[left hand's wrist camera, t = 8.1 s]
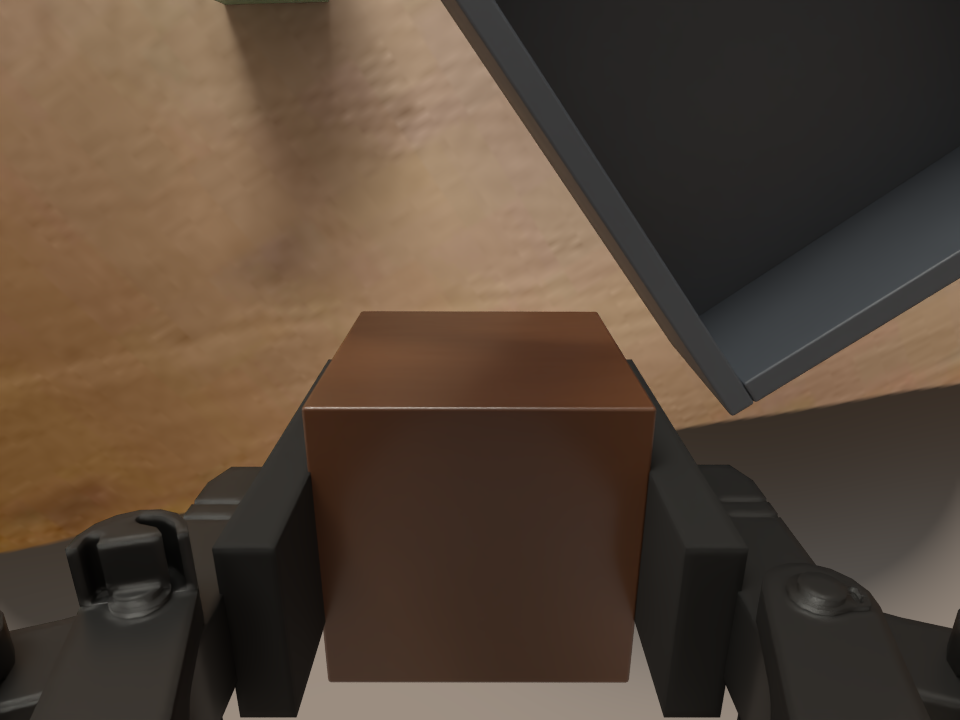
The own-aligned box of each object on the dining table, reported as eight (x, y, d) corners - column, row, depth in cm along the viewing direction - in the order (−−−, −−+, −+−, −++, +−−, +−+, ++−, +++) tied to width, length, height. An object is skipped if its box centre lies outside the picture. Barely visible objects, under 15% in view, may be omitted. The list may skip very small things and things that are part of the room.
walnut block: (373, 514, 16) (327, 683, 11) (360, 310, 14) (300, 407, 9) (583, 514, 16) (629, 684, 11) (597, 311, 14) (657, 408, 9)
